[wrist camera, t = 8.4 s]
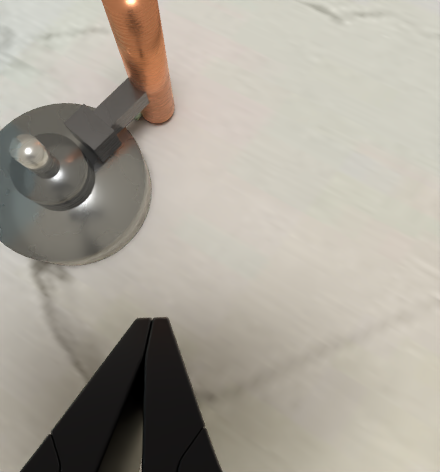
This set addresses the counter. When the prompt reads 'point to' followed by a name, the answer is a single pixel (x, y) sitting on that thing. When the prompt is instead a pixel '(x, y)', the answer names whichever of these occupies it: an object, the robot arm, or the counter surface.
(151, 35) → the copper rod with bracket
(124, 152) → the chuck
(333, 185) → the counter surface
